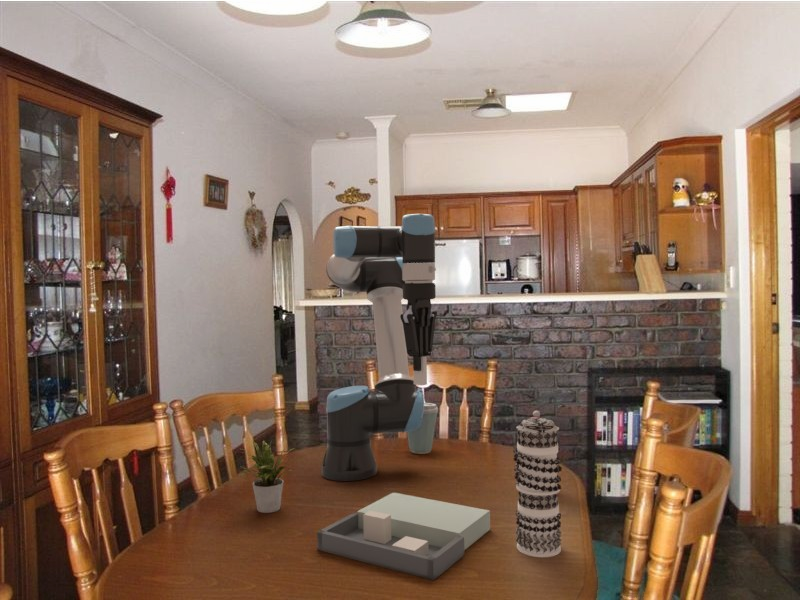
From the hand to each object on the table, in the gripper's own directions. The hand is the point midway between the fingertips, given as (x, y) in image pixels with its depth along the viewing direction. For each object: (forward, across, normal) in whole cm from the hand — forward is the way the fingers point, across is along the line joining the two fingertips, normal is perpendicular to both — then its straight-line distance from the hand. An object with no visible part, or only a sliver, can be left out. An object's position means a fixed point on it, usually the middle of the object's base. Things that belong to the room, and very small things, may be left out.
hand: (420, 384), depth 149 cm
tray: (+28, -26, -8) cm, 39 cm away
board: (+28, -13, -8) cm, 32 cm away
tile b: (+25, -26, -13) cm, 38 cm away
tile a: (+25, -21, -3) cm, 33 cm away
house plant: (+29, -20, +31) cm, 47 cm away
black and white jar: (+28, -10, -32) cm, 44 cm away
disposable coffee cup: (+30, +41, +24) cm, 56 cm away
